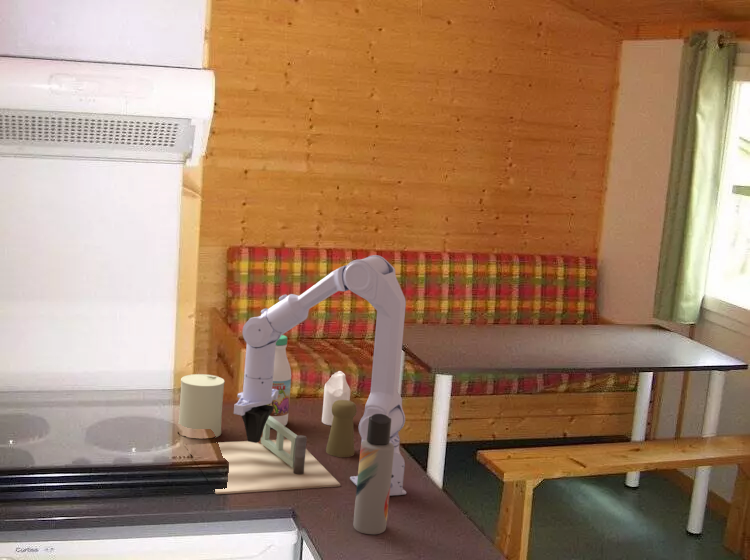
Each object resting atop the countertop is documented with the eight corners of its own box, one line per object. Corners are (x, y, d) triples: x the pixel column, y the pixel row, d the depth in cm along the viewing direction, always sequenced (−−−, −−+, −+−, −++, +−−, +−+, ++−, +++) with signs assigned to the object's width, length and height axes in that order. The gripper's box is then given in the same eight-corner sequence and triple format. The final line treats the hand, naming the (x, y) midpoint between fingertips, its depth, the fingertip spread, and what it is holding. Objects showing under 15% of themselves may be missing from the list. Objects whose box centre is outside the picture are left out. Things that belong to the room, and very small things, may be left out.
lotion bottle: (385, 522, 175) (396, 412, 172) (386, 536, 169) (398, 422, 166) (352, 520, 175) (363, 410, 172) (353, 533, 169) (364, 420, 166)
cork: (356, 449, 212) (361, 399, 210) (352, 458, 206) (357, 407, 204) (327, 445, 212) (332, 395, 210) (323, 455, 206) (328, 403, 205)
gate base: (340, 486, 190) (343, 447, 189) (216, 494, 180) (219, 454, 179) (296, 440, 213) (299, 406, 212) (184, 445, 204) (186, 409, 202)
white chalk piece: (326, 373, 224) (325, 367, 229) (321, 425, 226) (321, 417, 231) (352, 375, 224) (351, 369, 230) (348, 427, 226) (347, 419, 232)
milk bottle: (249, 417, 226) (256, 331, 223) (283, 417, 228) (290, 332, 225) (256, 429, 219) (263, 339, 215) (290, 428, 221) (298, 340, 218)
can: (229, 432, 215) (233, 377, 213) (203, 442, 207) (207, 386, 205) (195, 422, 219) (198, 369, 217) (168, 432, 211) (171, 377, 209)
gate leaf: (298, 467, 195) (300, 437, 194) (292, 467, 195) (295, 438, 194) (266, 442, 208) (268, 414, 207) (260, 442, 207) (262, 414, 206)
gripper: (258, 364, 206) (253, 427, 208) (222, 379, 193) (217, 446, 195) (289, 370, 203) (283, 434, 206) (254, 386, 190) (249, 454, 192)
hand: (253, 441), depth 200 cm, fingers closed
